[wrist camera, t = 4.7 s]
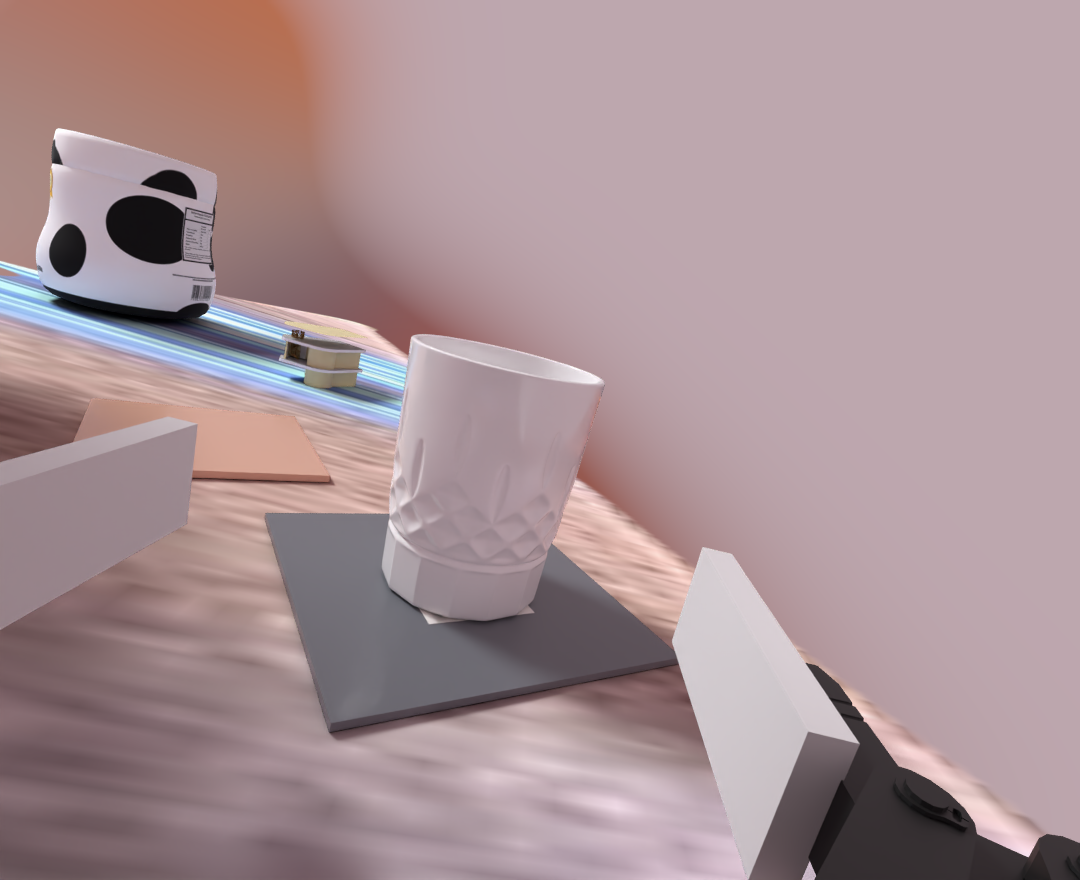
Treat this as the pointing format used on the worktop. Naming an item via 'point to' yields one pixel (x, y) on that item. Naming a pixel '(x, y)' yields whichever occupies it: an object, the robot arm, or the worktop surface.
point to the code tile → (439, 629)
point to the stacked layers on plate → (323, 356)
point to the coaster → (221, 439)
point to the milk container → (127, 229)
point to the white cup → (482, 474)
